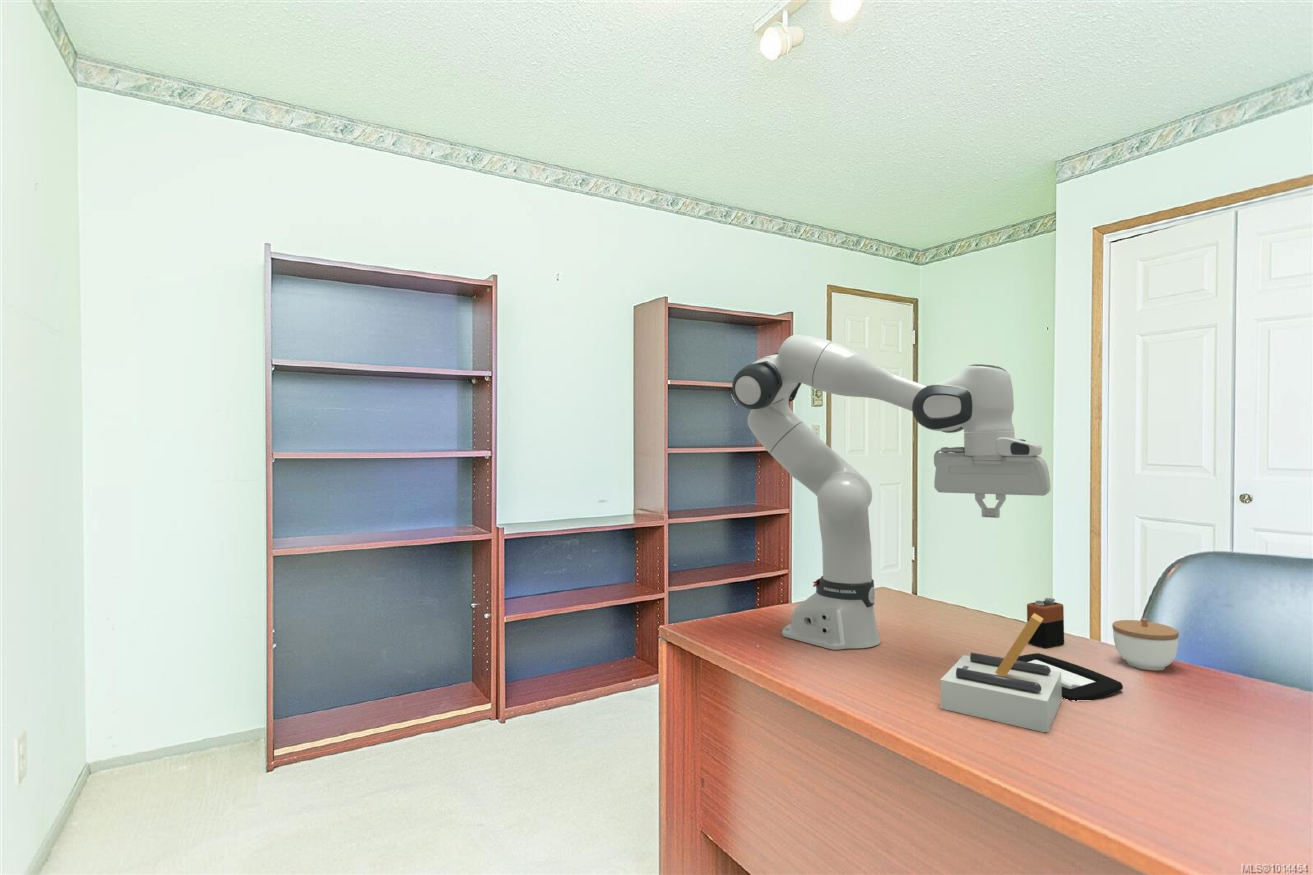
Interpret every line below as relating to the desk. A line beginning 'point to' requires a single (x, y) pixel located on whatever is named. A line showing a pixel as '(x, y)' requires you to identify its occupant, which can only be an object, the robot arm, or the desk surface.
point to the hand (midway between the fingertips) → (990, 517)
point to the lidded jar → (1145, 643)
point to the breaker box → (1003, 691)
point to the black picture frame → (1077, 678)
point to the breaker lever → (1019, 645)
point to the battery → (1047, 623)
